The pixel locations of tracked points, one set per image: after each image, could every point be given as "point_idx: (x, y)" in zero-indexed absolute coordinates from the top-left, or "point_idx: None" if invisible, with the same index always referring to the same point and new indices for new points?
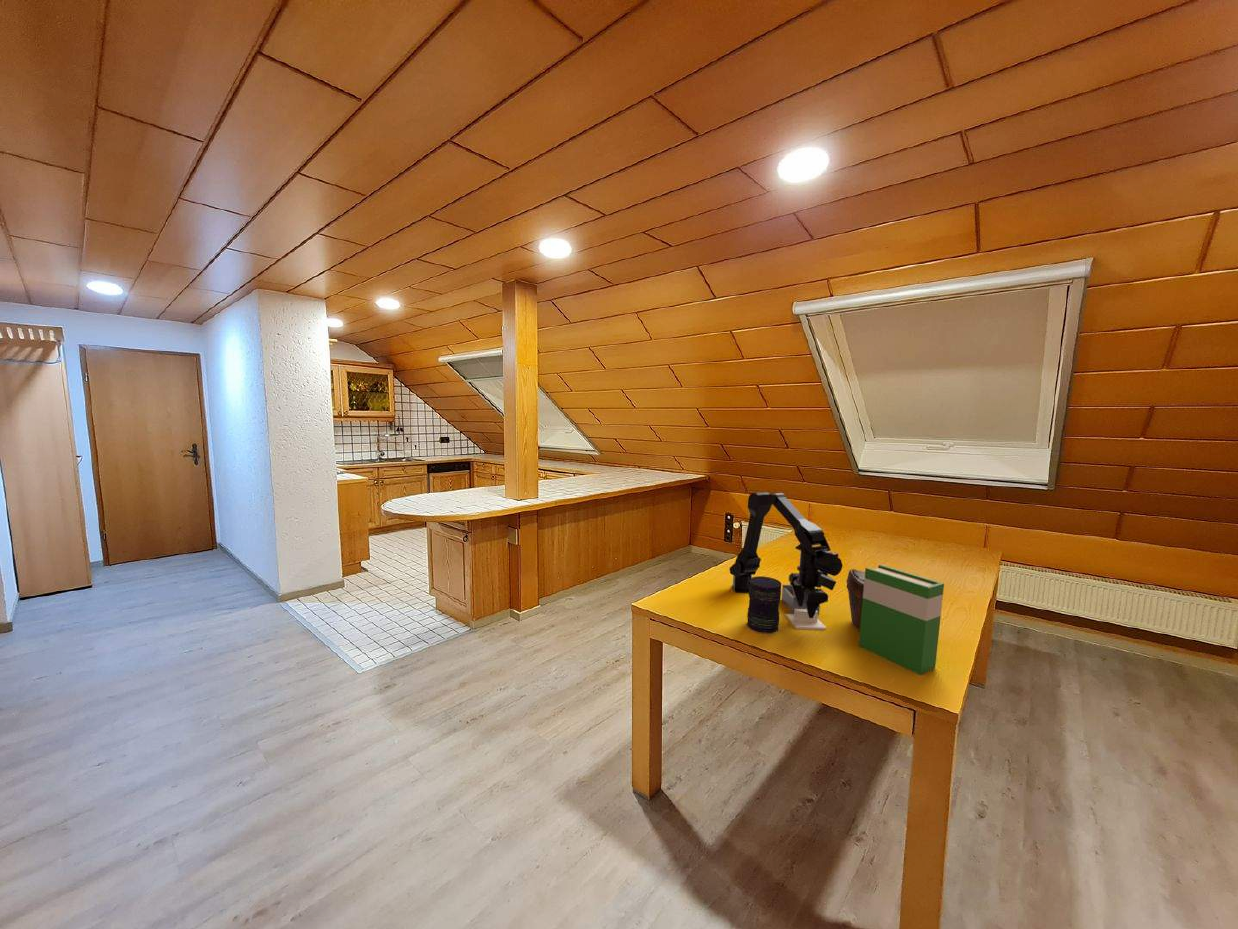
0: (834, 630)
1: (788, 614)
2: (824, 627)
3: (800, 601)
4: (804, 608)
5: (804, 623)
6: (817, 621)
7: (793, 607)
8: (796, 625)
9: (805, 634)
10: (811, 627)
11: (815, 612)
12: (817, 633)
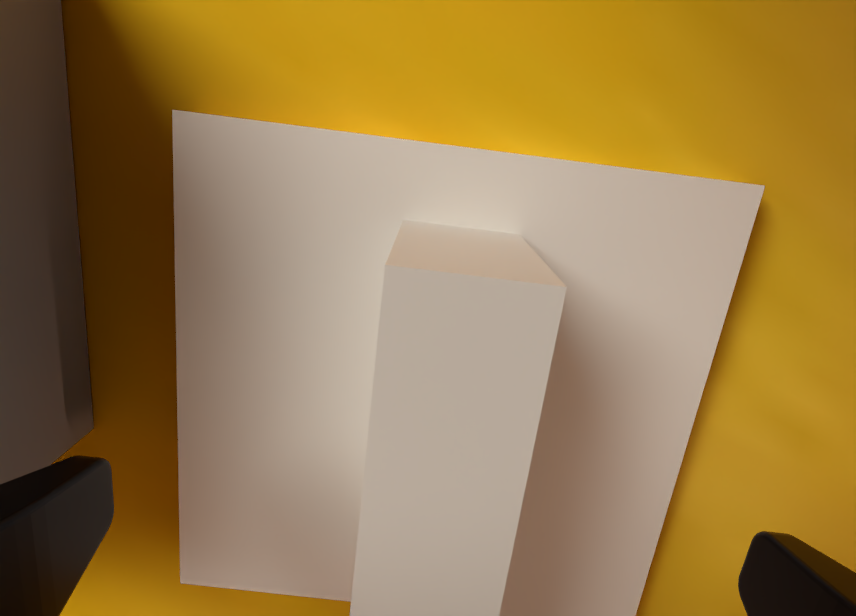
0: (801, 22)
1: (203, 559)
2: (743, 210)
3: (14, 599)
4: (2, 272)
5: (539, 472)
6: (483, 210)
7: None
8: (593, 610)
9: None
10: (690, 432)
11: (545, 350)
12: (822, 392)
